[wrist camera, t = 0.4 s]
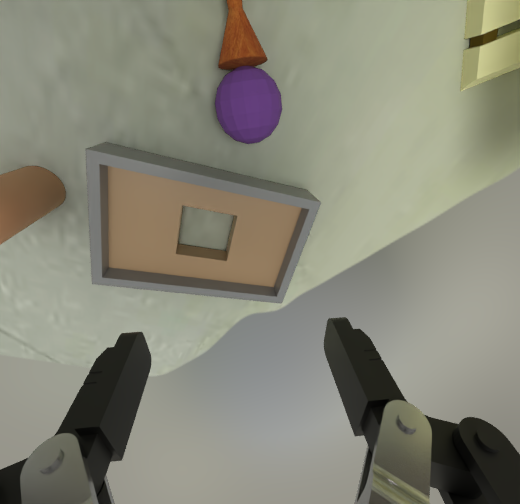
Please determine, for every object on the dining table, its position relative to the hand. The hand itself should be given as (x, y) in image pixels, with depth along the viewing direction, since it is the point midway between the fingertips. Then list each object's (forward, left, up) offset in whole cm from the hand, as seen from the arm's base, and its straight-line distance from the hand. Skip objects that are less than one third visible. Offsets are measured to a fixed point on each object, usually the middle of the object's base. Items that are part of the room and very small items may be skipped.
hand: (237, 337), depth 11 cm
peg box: (+4, -1, -21) cm, 22 cm away
